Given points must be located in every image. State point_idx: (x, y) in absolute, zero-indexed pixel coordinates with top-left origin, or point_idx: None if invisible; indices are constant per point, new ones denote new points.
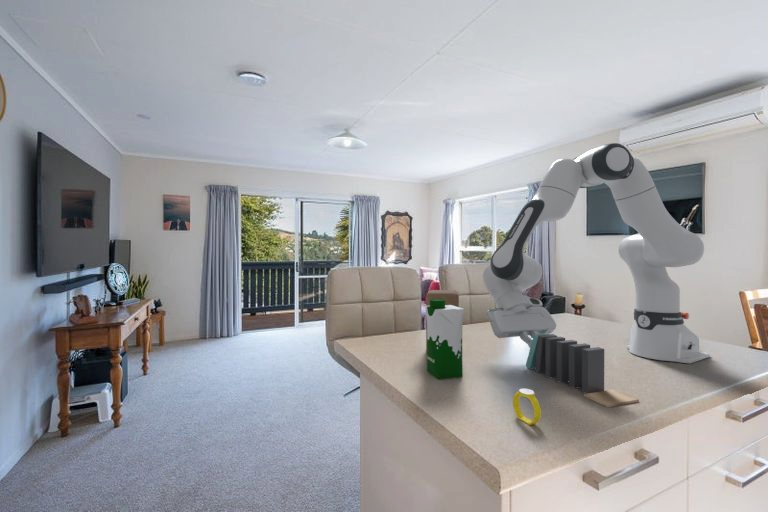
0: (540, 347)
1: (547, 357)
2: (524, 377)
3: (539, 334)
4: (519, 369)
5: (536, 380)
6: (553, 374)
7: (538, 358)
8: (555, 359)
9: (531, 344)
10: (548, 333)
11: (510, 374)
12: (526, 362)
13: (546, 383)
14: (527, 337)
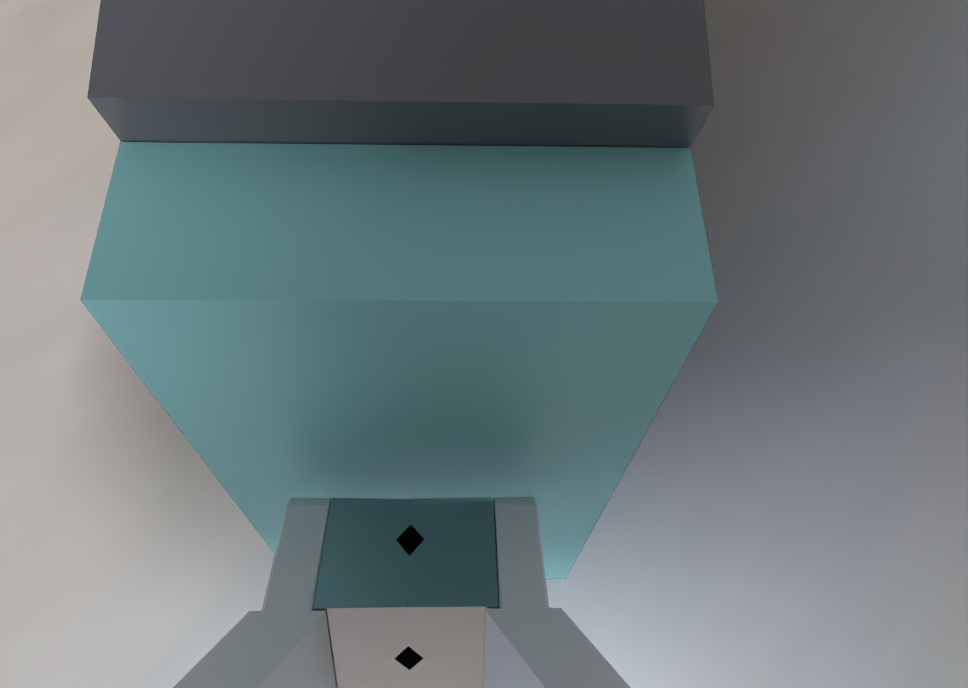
0: None
1: None
2: (842, 241)
3: (496, 286)
4: (709, 519)
5: (770, 116)
6: None
7: None
8: None
9: (637, 439)
10: (98, 284)
11: (947, 388)
12: (571, 565)
13: (725, 8)
14: (619, 678)
